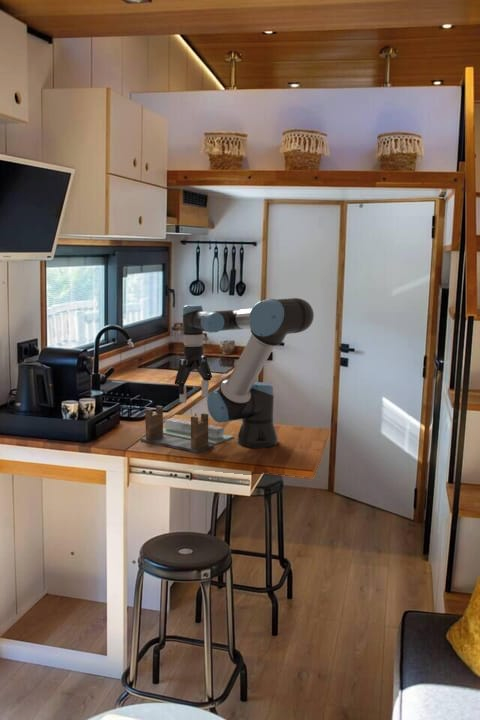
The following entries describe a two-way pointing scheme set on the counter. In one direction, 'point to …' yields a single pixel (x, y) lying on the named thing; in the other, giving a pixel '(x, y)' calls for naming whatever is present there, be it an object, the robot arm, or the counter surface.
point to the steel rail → (185, 427)
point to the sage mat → (188, 436)
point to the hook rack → (194, 445)
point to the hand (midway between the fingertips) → (194, 399)
